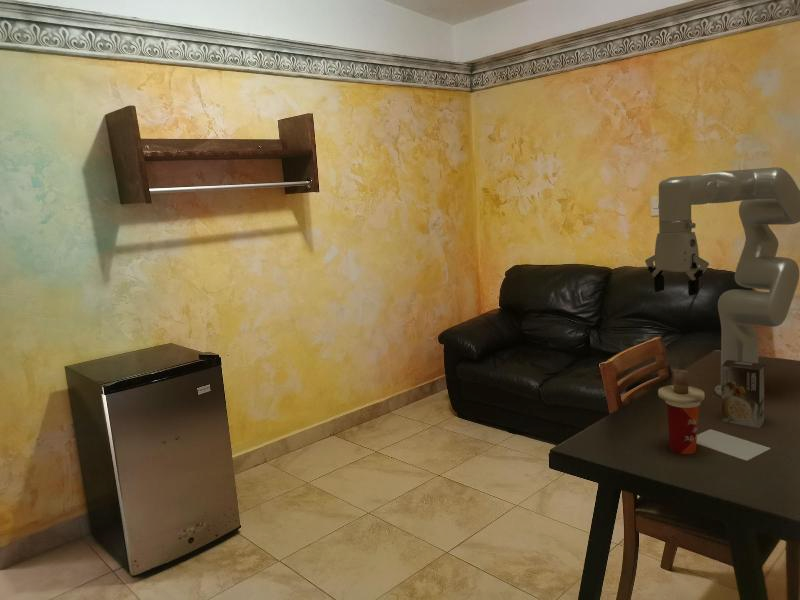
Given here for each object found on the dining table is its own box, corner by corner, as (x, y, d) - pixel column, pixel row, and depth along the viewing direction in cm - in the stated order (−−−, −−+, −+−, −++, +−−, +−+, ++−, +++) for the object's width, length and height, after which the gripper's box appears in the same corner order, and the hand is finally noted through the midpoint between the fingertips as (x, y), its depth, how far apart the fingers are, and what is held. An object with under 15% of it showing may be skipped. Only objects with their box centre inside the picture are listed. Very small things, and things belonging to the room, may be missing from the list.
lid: (675, 386, 146) (675, 363, 145) (713, 396, 138) (713, 371, 136) (649, 395, 141) (649, 372, 140) (687, 406, 133) (687, 381, 132)
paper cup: (698, 460, 136) (699, 403, 134) (663, 455, 140) (662, 400, 138) (702, 447, 143) (702, 392, 140) (667, 442, 147) (667, 389, 144)
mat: (710, 431, 151) (710, 429, 151) (770, 450, 138) (770, 448, 138) (686, 442, 146) (686, 439, 146) (746, 463, 133) (746, 460, 133)
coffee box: (765, 422, 154) (766, 363, 151) (759, 430, 149) (761, 370, 146) (726, 415, 160) (727, 359, 157) (720, 423, 155) (720, 365, 152)
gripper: (716, 225, 144) (716, 293, 147) (654, 225, 158) (655, 287, 162) (698, 229, 140) (698, 298, 143) (636, 229, 155) (638, 292, 158)
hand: (675, 292), depth 152 cm, fingers open, 9 cm apart
